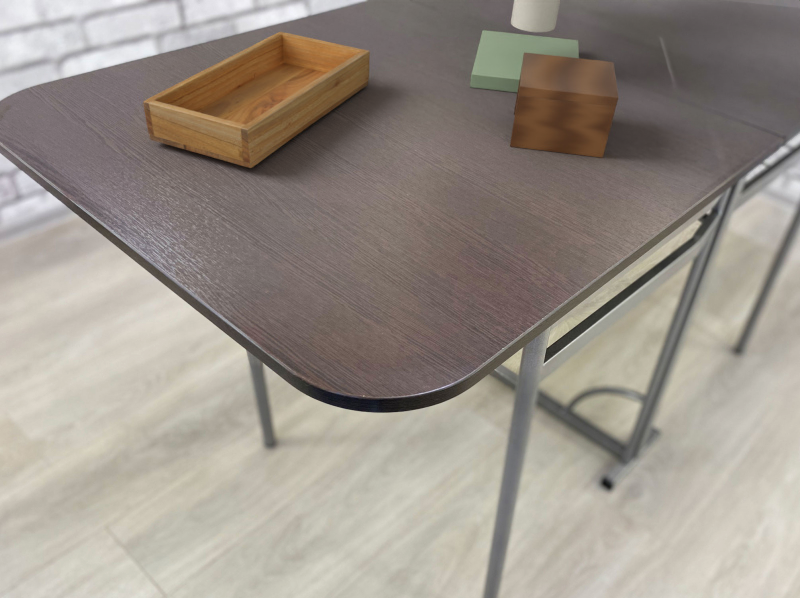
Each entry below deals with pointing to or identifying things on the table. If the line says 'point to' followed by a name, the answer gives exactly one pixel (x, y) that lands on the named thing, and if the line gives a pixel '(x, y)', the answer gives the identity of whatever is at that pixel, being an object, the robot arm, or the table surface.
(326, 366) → the table surface
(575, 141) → the wood grain cuboid
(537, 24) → the cylinder
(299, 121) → the tray
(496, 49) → the sage green flat slab
